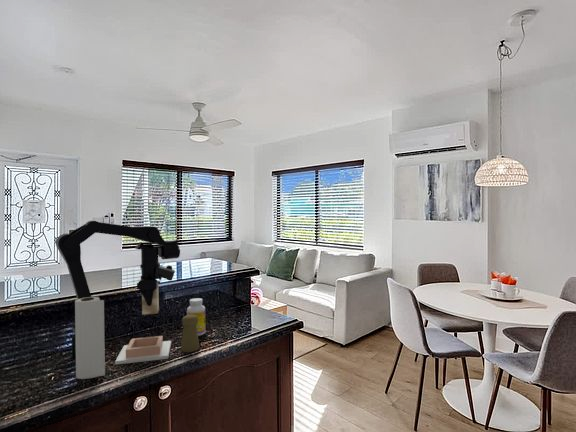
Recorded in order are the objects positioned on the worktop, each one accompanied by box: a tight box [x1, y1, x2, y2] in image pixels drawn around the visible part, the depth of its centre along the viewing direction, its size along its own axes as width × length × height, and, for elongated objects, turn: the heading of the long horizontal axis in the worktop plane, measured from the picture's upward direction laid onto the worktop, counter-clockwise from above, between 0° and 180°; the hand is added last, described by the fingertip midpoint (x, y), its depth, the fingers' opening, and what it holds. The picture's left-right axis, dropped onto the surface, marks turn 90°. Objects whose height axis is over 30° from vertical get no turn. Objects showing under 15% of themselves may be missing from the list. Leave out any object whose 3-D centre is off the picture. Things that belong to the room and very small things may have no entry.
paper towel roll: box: [74, 296, 106, 380], centre depth 95 cm, size 7×6×21 cm
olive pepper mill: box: [180, 314, 200, 353], centre depth 114 cm, size 6×6×11 cm
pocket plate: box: [114, 335, 172, 365], centre depth 110 cm, size 15×13×4 cm
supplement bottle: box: [186, 297, 207, 337], centre depth 128 cm, size 7×7×13 cm
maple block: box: [141, 286, 160, 316], centre depth 124 cm, size 5×5×10 cm
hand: (150, 303), depth 124 cm, fingers closed on maple block, 5 cm apart
